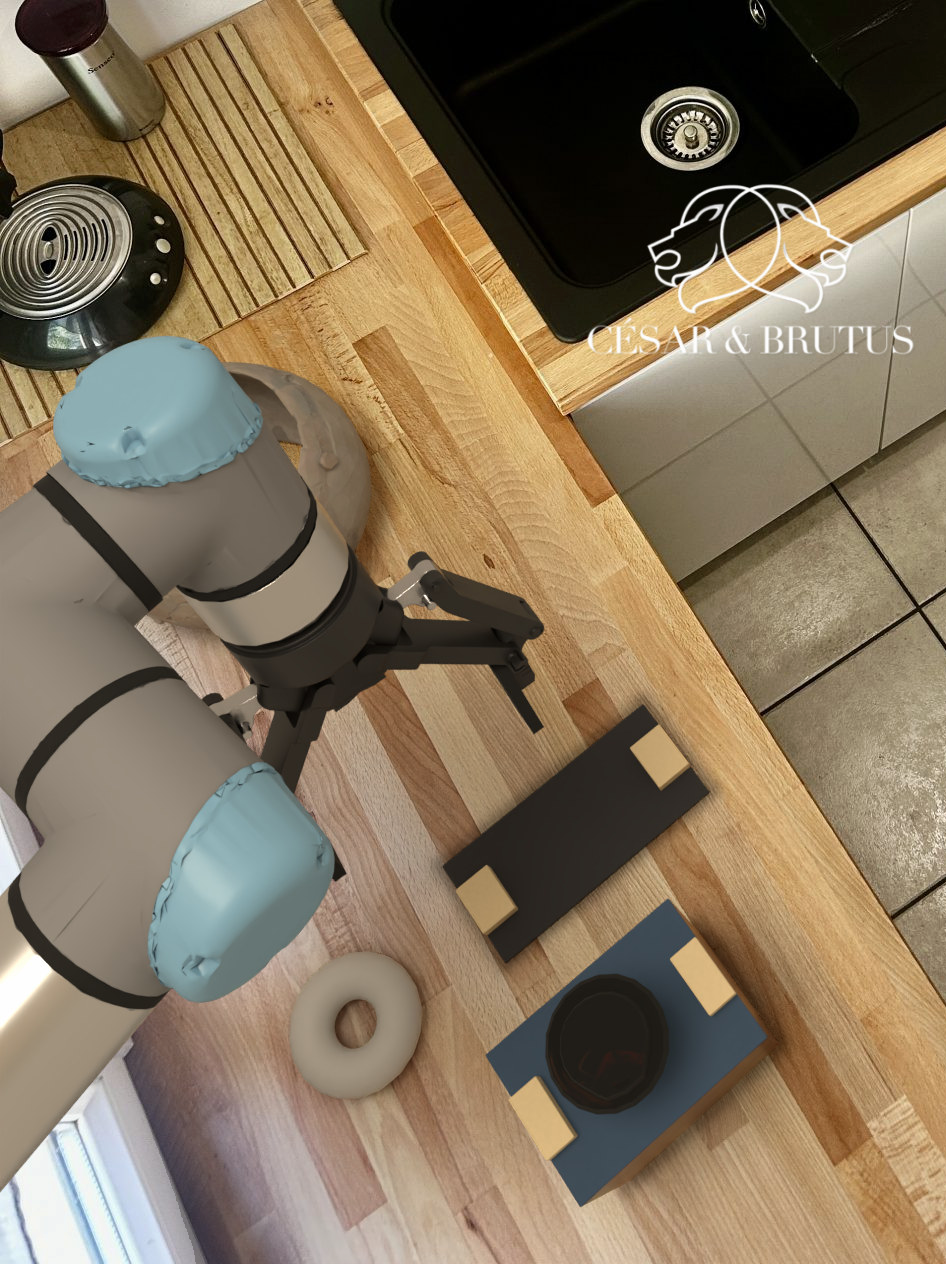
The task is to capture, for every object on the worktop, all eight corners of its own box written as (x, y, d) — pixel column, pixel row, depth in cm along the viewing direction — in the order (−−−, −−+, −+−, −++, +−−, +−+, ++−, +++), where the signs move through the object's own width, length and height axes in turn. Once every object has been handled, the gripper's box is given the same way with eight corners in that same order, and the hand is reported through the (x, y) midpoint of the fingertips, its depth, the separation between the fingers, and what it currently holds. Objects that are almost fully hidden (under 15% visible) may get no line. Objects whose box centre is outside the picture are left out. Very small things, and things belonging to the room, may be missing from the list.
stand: (630, 1181, 107) (581, 1207, 86) (551, 1058, 111) (486, 1055, 90) (779, 1044, 111) (768, 1037, 90) (698, 930, 115) (668, 898, 94)
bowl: (87, 516, 134) (6, 456, 121) (296, 358, 141) (241, 285, 127) (223, 708, 125) (152, 665, 112) (440, 530, 132) (397, 469, 119)
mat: (506, 963, 115) (501, 962, 113) (443, 866, 118) (437, 863, 116) (709, 792, 120) (707, 788, 118) (643, 704, 124) (640, 699, 122)
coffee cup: (549, 1021, 91) (519, 1015, 82) (649, 959, 92) (631, 946, 83) (599, 1136, 88) (574, 1143, 79) (703, 1070, 89) (689, 1069, 80)
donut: (434, 1081, 111) (419, 938, 116) (423, 1082, 108) (408, 935, 113) (301, 1113, 111) (292, 968, 115) (286, 1115, 107) (277, 966, 112)
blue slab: (581, 1207, 86) (576, 1209, 85) (486, 1055, 90) (479, 1054, 89) (768, 1037, 90) (766, 1036, 88) (668, 898, 94) (665, 895, 92)
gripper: (461, 406, 80) (575, 621, 95) (27, 689, 73) (223, 875, 87) (526, 485, 75) (636, 699, 90) (67, 798, 68) (267, 977, 82)
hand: (433, 786), depth 88 cm, fingers open, 13 cm apart
